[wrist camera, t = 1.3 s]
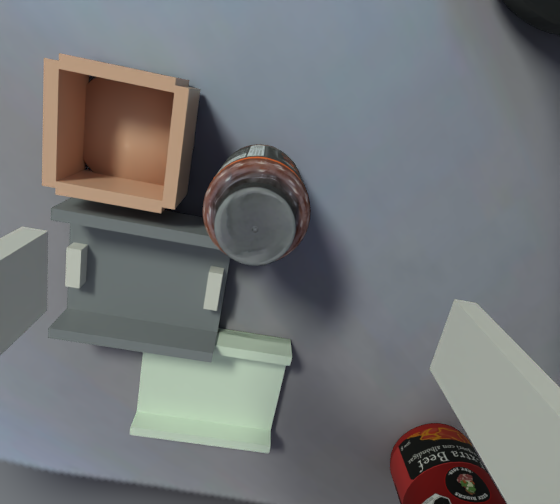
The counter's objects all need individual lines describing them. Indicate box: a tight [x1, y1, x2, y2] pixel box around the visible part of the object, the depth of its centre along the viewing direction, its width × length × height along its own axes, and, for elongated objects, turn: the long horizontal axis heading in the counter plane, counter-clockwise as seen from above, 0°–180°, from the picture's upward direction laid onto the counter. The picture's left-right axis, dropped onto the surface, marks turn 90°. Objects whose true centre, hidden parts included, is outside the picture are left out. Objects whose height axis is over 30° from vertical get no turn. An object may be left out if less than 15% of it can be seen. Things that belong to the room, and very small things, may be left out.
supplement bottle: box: [203, 145, 311, 266], centre depth 26 cm, size 6×6×11 cm
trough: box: [130, 328, 292, 453], centre depth 36 cm, size 12×10×3 cm
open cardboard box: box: [42, 53, 200, 213], centre depth 28 cm, size 8×8×5 cm
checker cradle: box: [48, 197, 230, 363], centre depth 32 cm, size 12×10×4 cm
